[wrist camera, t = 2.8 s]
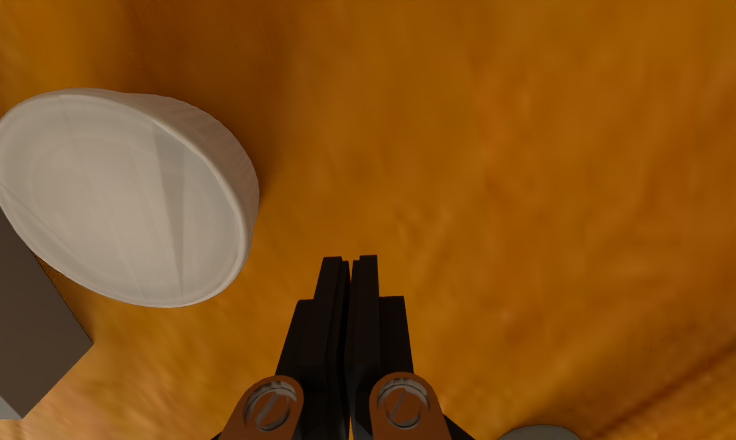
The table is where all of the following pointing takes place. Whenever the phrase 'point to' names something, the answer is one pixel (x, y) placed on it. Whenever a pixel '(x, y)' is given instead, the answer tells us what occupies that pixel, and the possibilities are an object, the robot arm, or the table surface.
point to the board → (31, 328)
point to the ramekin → (129, 193)
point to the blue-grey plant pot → (540, 433)
